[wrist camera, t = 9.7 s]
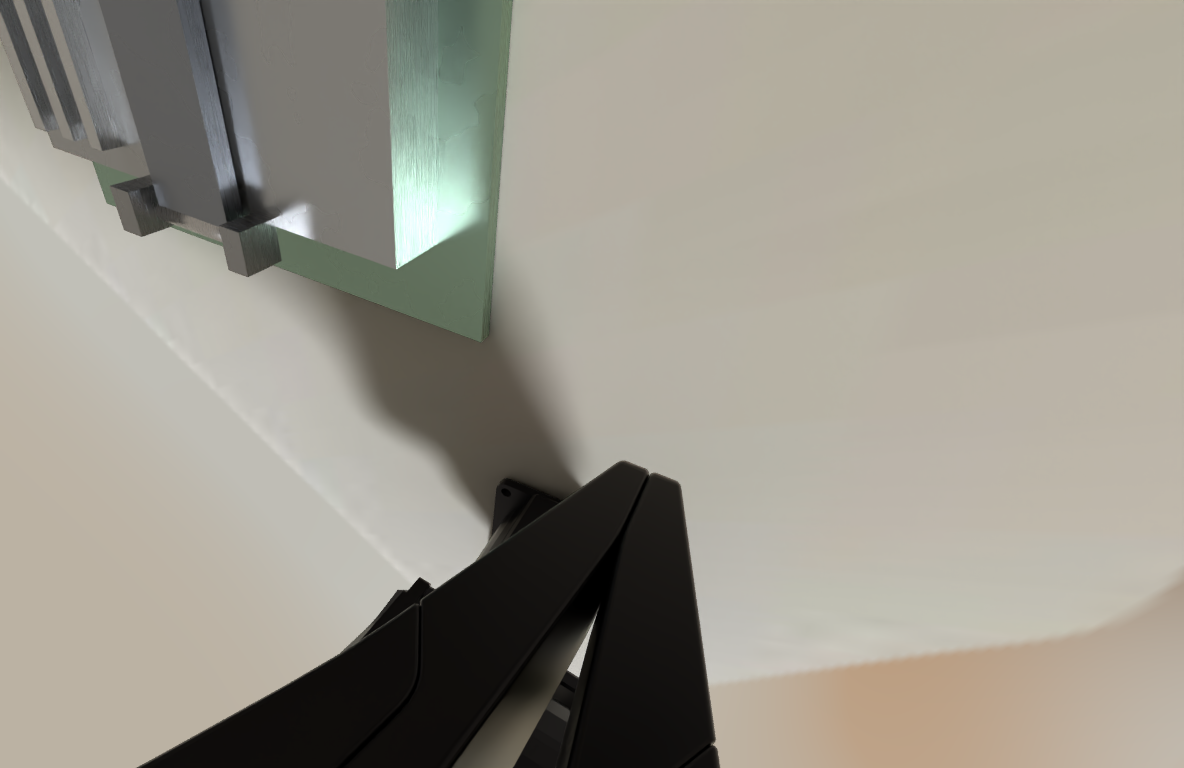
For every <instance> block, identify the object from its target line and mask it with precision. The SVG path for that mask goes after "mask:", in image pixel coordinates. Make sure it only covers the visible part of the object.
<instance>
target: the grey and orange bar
mask: <svg viewBox="0 0 1184 768" xmlns="http://www.w3.org/2000/svg"><path fill="white" fill-rule="evenodd" d="M98 1H99V4H100V7H101V11H102V14H103V17H104V21H105V24H106V28H107V31H108V34H109V38H110V41H111V44H112V48H113V51H114V55H115V58H116V61H117V65H118V68H119V71H120V75H121V78H122V82H123V85H124V88H125V92H126V95H127V98H128V102H129V105H130V109H131V112H132V115H133V119H134V122H135V125H136V129H137V132H138V136H139V139H140V142H141V146H142V149H143V152H144V156H145V159H146V163H147V166H148V169H149V173H150V176H151V179H152V183H153V186H154V189H155V193H156V196H157V200H158V203H157V206H156V213H157V215H158V217H159V218H160V219H161V220H163V221H165V222H168V223H171V224H174V225H176V226H179V227H182V228H184V229H187V230H190V231H192V232H195V233H198V234H201V235H203V236H206V237H209V238H211V239H214V240H217V241H219V242H222V238H221V234H220V230H219V225H222V224H224V223H227V222H229V221H232V220H235V219H237V218H240V217H243V216H244V215H243V210H242V206H241V201H240V196H239V191H238V186H237V182H236V177H235V172H234V167H233V162H232V158H231V153H230V148H229V143H228V138H227V133H226V129H225V124H224V119H223V114H222V109H221V105H220V100H219V95H218V90H217V85H216V81H215V76H214V71H213V66H212V61H211V57H210V52H209V47H208V42H207V37H206V32H205V28H204V23H203V18H202V13H201V8H200V4H199V0H98Z"/></svg>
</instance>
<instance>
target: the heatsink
mask: <svg viewBox="0 0 1184 768" xmlns="http://www.w3.org/2000/svg"><path fill="white" fill-rule="evenodd" d="M512 2H513V0H199V4H200V8H201V13H202V18H203V23H204V28H205V32H206V37H207V42H208V47H209V52H210V57H211V61H212V66H213V71H214V76H215V81H216V85H217V90H218V95H219V100H220V105H221V109H222V114H223V119H224V124H225V129H226V133H227V138H228V143H229V148H230V153H231V158H232V162H233V167H234V172H235V177H236V182H237V186H238V191H239V196H240V201H241V206H242V210H243V215H244V216H243V217H240V218H237V219H235V220H232V221H229V222H227V223H224V224H222V225H219V230H220V234H221V238H222V242H219V241H217V240H214V239H211V238H209V237H206V236H203V235H201V234H198V233H195V232H192V231H190V230H187V229H184V228H182V227H179V226H176V225H174V224H171V223H168V222H165V221H163V220H161V219H160V218H159V217H158V215H157V213H156V206H157V203H158V200H157V196H156V193H155V189H154V186H153V183H152V179H151V176H150V173H149V169H148V166H147V163H146V159H145V156H144V152H143V149H142V146H141V142H140V139H139V136H138V132H137V129H136V125H135V122H134V119H133V115H132V112H131V109H130V105H129V102H128V98H127V95H126V92H125V88H124V85H123V82H122V78H121V75H120V71H119V68H118V65H117V61H116V58H115V55H114V51H113V48H112V44H111V41H110V38H109V34H108V31H107V28H106V24H105V21H104V17H103V14H102V11H101V7H100V4H99V1H98V0H0V38H1V41H2V44H3V46H4V49H5V51H6V54H7V56H8V59H9V61H10V64H11V67H12V69H13V72H14V74H15V77H16V79H17V82H18V85H19V87H20V90H21V92H22V95H23V97H24V100H25V102H26V105H27V108H28V110H29V113H30V115H31V118H32V120H33V123H34V126H35V128H38V129H41V130H43V131H47V132H48V134H49V137H50V140H51V142H52V145H53V147H54V148H57V149H60V150H63V151H65V152H68V153H71V154H74V155H77V156H79V157H82V158H85V159H88V160H91V161H92V162H93V165H94V168H95V170H96V173H97V176H98V179H99V182H100V185H101V188H102V191H103V194H104V197H105V199H106V202H107V203H108V204H110V205H113V206H116V207H117V210H118V213H119V216H120V219H121V222H122V225H123V228H124V230H125V231H128V232H130V233H133V234H136V235H138V236H141V237H143V236H146V235H148V234H151V233H154V232H157V231H160V230H163V229H165V228H168V227H172V228H175V229H177V230H180V231H183V232H185V233H188V234H191V235H194V236H196V237H199V238H202V239H204V240H207V241H210V242H212V243H215V244H218V245H220V246H223V247H224V251H225V256H226V260H227V264H228V269H229V270H230V271H233V272H235V273H238V274H241V275H243V276H246V277H249V276H252V275H254V274H256V273H258V272H260V271H262V270H264V269H266V268H268V267H270V266H272V265H274V266H277V267H280V268H282V269H285V270H288V271H290V272H293V273H296V274H298V275H301V276H304V277H306V278H309V279H312V280H314V281H317V282H320V283H322V284H325V285H328V286H331V287H333V288H336V289H339V290H341V291H344V292H347V293H349V294H352V295H355V296H357V297H360V298H363V299H365V300H368V301H371V302H374V303H376V304H379V305H382V306H384V307H387V308H390V309H392V310H395V311H398V312H400V313H403V314H406V315H408V316H411V317H414V318H417V319H419V320H422V321H425V322H427V323H430V324H433V325H435V326H438V327H441V328H443V329H446V330H449V331H451V332H454V333H457V334H460V335H462V336H465V337H468V338H470V339H473V340H476V341H478V342H482V341H483V340H484V339H486V338H487V337H488V336H489V325H490V311H491V297H492V283H493V269H494V255H495V241H496V227H497V213H498V199H499V185H500V171H501V157H502V143H503V129H504V115H505V101H506V87H507V73H508V58H509V44H510V30H511V16H512Z"/></svg>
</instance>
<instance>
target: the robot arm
mask: <svg viewBox="0 0 1184 768" xmlns="http://www.w3.org/2000/svg"><path fill="white" fill-rule="evenodd" d="M596 614H597V616H596ZM595 616H596V619H595ZM594 619H595V622H594V625H593V629H592V632H591V635H590V639H589V642H588V646H587V650H586V653H585V657H584V661H583V665H582V669H581V672H580V676H579V677H577V676H575V675H574V674H572V673H571V672H569V671H567V669H568V667H569V666H570V664H571V662H572V660H573V658H574V657H575V655H576V653H577V651H578V649H579V648H580V646H581V644H582V642H583V640H584V639H585V637H586V635H587V633H588V631H589V629H590V627H591V625H592V623H593V621H594ZM715 740H716V738H715V731H714V723H713V716H712V709H711V701H710V694H709V687H708V679H707V672H706V665H705V658H704V650H703V643H702V636H701V628H700V621H699V614H698V607H697V599H696V592H695V585H694V578H693V570H692V563H691V556H690V548H689V541H688V534H687V527H686V519H685V512H684V505H683V497H682V490H681V486H680V484H679V483H678V482H677V481H675V480H673V479H670V478H668V477H665V476H663V475H660V474H658V473H652V474H650V475H649V472H648V470H647V469H645V468H643V467H640V466H637V465H635V464H632V463H630V462H627V461H619V462H618V463H616V464H615V465H613V466H612V467H610V468H609V469H607V470H606V471H605V472H603V473H602V474H600V475H599V476H597V477H596V478H594V479H593V480H592V481H590V482H589V483H587V484H586V485H584V486H583V487H582V488H580V489H579V490H577V491H576V492H574V493H573V494H572V495H570V496H569V497H567V498H566V499H564V500H563V501H561V500H559V499H556V498H554V497H552V496H549V495H547V494H544V493H542V492H540V491H537V490H535V489H532V488H530V487H528V486H525V485H523V484H520V483H518V482H516V481H513V480H511V479H503V480H502V481H501V482H500V483H499V485H498V486H497V489H496V499H495V509H494V519H493V529H492V537H491V539H490V540H489V542H488V543H487V545H486V546H485V548H484V549H483V551H482V552H481V554H480V555H479V557H478V558H477V560H476V561H475V562H474V563H473V564H471V565H470V566H468V567H467V568H465V569H464V570H462V571H461V572H460V573H458V574H457V575H455V576H454V577H452V578H451V579H450V580H448V581H447V582H445V583H444V584H442V585H441V586H440V587H438V588H437V589H434V588H432V587H431V584H430V583H429V582H427V581H425V580H424V579H422V578H420V577H419V578H418V580H417V581H416V582H415V583H414V584H413V585H412V587H411V588H410V589H409V590H397V592H396V593H395V594H394V596H393V597H392V598H391V599H390V601H389V602H388V604H387V605H386V606H385V607H384V609H383V610H382V611H381V612H380V614H379V615H378V616H377V618H376V619H375V620H374V621H373V622H372V623H371V624H370V625H369V626H368V627H367V628H366V630H364V631H363V632H362V633H361V634H360V635H359V636H358V637H357V638H356V639H355V640H354V641H353V642H352V643H351V644H350V645H348V646H347V647H346V648H345V649H344V650H343V651H342V652H341V653H340V654H338V655H337V656H335V657H334V658H332V659H330V660H328V661H327V662H325V663H323V664H321V665H320V666H318V667H316V668H314V669H313V670H311V671H310V672H308V673H306V674H304V675H302V676H301V677H299V678H297V679H296V680H294V681H292V682H291V683H289V684H287V685H285V686H283V687H282V688H280V689H278V690H276V691H274V692H273V693H271V694H269V695H267V696H265V697H264V698H262V699H260V700H258V701H257V702H255V703H253V704H251V705H249V706H247V707H246V708H244V709H242V710H241V711H239V712H237V713H235V714H233V715H231V716H229V717H228V718H226V719H224V720H222V721H220V722H219V723H217V724H215V725H213V726H212V727H210V728H208V729H206V730H204V731H202V732H201V733H199V734H197V735H195V736H193V737H192V738H190V739H188V740H186V741H184V742H183V743H181V744H179V745H177V746H175V747H173V748H172V749H170V750H168V751H166V752H165V753H163V754H161V755H159V756H158V757H155V758H154V759H152V760H150V761H148V762H146V763H144V764H142V765H141V766H139V767H137V768H720V765H719V757H718V751H717V748H716V747H715V746H713V744H714V742H715Z"/></svg>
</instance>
